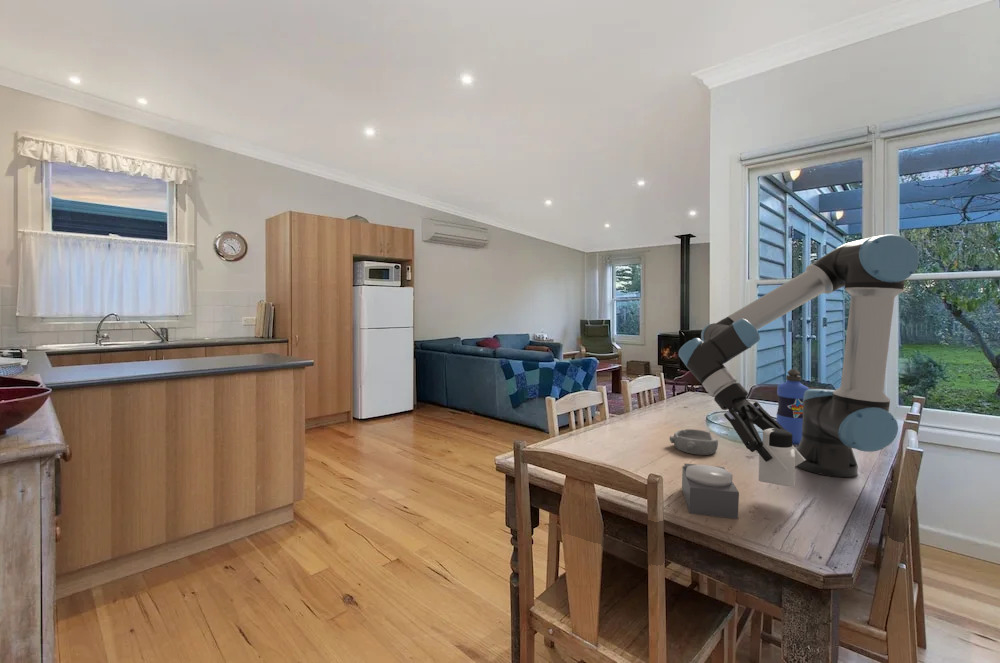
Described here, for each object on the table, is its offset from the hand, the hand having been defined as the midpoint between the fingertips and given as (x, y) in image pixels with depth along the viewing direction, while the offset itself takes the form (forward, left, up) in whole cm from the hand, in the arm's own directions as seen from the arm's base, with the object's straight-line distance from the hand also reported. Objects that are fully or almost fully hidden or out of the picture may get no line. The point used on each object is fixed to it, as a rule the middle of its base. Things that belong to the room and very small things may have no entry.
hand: (791, 467), depth 105 cm
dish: (+15, -40, -10) cm, 44 cm away
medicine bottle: (+2, -2, -4) cm, 5 cm away
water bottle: (-19, -60, -10) cm, 64 cm away
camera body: (+18, +3, -9) cm, 21 cm away
